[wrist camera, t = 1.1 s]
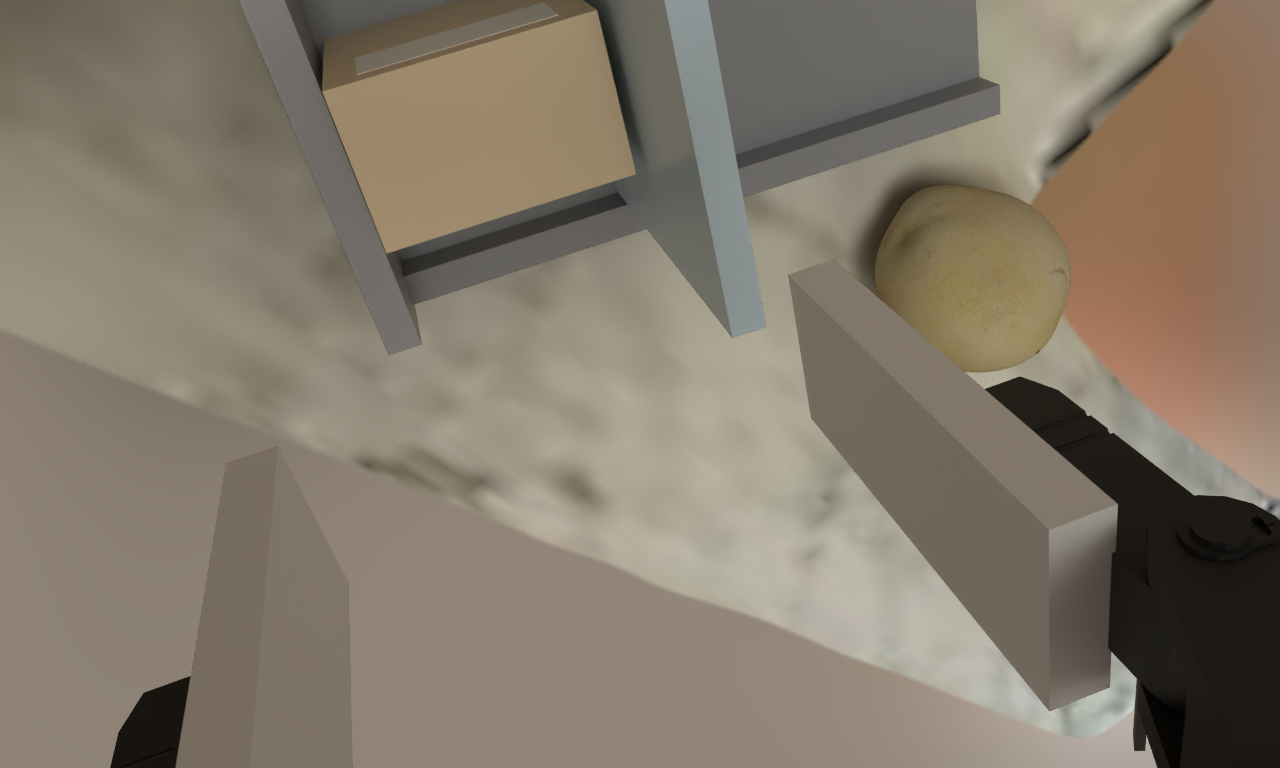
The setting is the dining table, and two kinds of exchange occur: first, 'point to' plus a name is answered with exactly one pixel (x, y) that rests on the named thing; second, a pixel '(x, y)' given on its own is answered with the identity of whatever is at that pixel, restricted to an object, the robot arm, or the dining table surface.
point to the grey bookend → (683, 150)
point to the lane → (765, 153)
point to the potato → (974, 275)
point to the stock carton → (475, 112)
